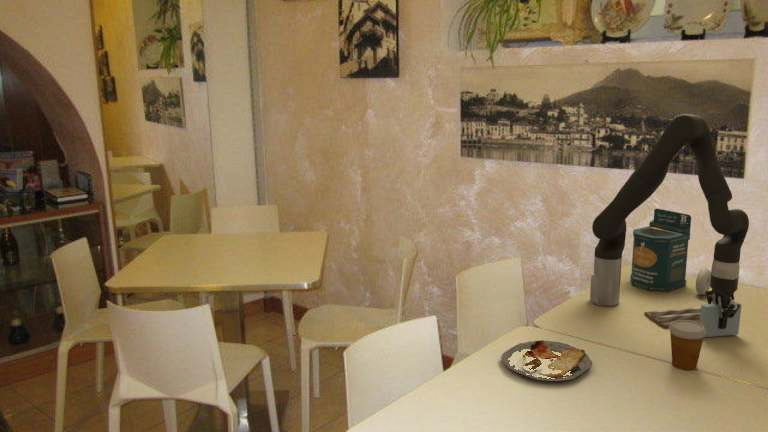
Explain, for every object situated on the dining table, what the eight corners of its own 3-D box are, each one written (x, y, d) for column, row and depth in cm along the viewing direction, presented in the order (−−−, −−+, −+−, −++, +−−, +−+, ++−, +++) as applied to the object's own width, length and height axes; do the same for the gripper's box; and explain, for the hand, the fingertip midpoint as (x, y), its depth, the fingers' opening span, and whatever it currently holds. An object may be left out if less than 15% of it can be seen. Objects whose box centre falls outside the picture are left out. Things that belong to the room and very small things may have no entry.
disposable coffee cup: (700, 360, 184) (704, 321, 181) (705, 375, 175) (708, 334, 172) (664, 356, 187) (667, 317, 184) (667, 370, 178) (670, 330, 175)
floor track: (664, 328, 206) (664, 321, 206) (644, 314, 218) (644, 307, 217) (737, 322, 210) (738, 315, 209) (714, 309, 221) (714, 302, 221)
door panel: (702, 337, 197) (705, 307, 195) (698, 334, 199) (701, 304, 197) (738, 334, 199) (741, 304, 197) (733, 331, 201) (737, 302, 199)
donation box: (685, 286, 245) (691, 215, 238) (658, 294, 237) (663, 221, 230) (649, 275, 258) (654, 207, 252) (622, 282, 250) (627, 213, 244)
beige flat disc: (703, 299, 231) (705, 272, 228) (693, 297, 233) (695, 271, 231) (711, 291, 238) (714, 266, 236) (701, 289, 240) (704, 264, 238)
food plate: (535, 339, 200) (535, 329, 199) (605, 362, 184) (605, 351, 183) (487, 368, 183) (487, 357, 182) (560, 396, 167) (560, 384, 166)
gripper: (699, 268, 201) (694, 319, 205) (728, 282, 187) (722, 336, 191) (721, 266, 202) (716, 317, 206) (751, 280, 188) (745, 335, 192)
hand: (719, 326), depth 199 cm, fingers closed on door panel, 2 cm apart
